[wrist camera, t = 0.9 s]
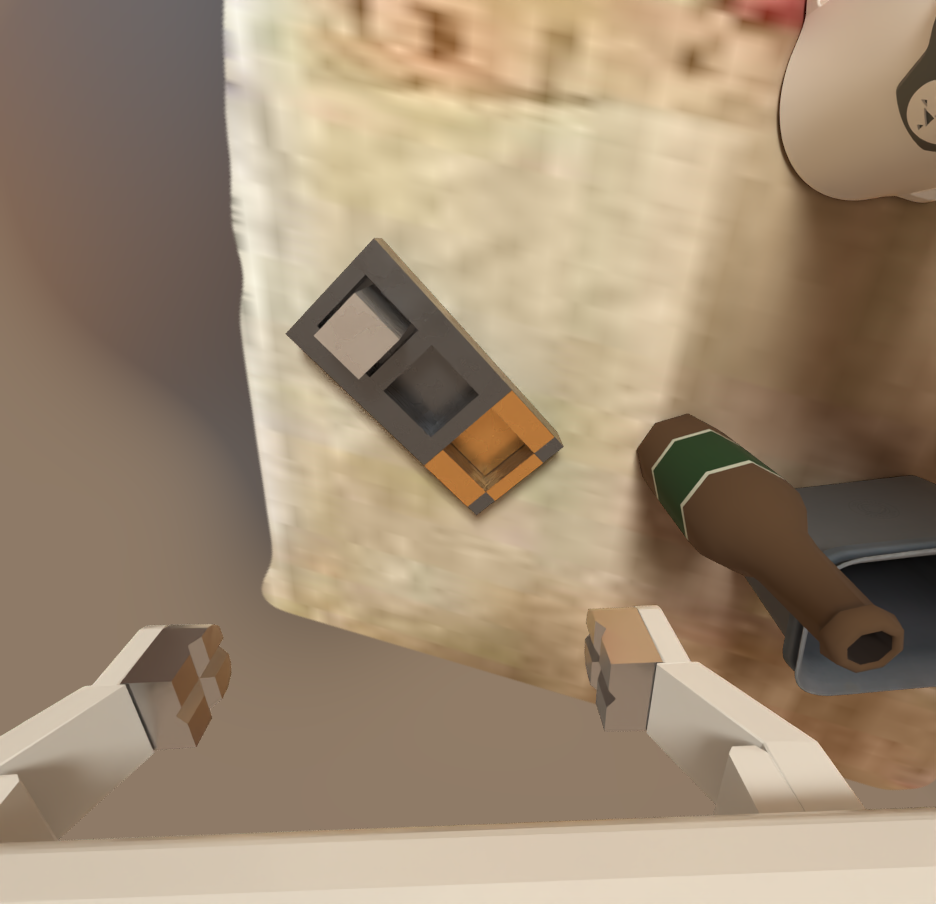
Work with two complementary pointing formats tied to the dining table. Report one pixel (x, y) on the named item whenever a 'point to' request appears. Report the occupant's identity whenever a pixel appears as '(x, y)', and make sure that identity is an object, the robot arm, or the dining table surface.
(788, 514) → the beer bottle
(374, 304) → the block
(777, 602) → the storage bin
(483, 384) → the grey tray
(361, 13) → the dining table surface
